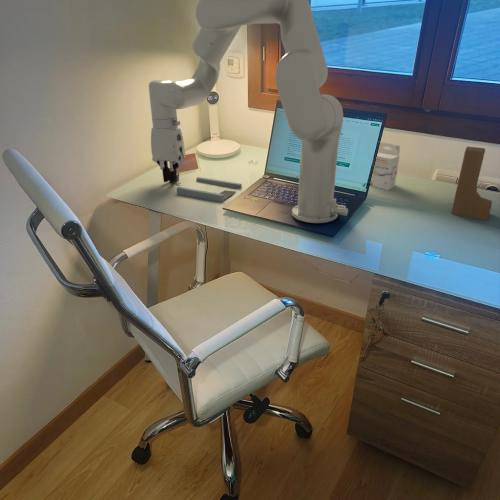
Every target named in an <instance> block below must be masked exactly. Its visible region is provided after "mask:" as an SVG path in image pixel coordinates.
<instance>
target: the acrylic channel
mask: <svg viewBox="0 0 500 500" xmlns="http://www.w3.org/2000/svg"><path fill="white" fill-rule="evenodd" d="M196 182H200V183H203V184H204V183H205V184H211V185H216V186H222V187H227V188H233V189H236V190H237V189H239V190H240V189H242V183H239V182H233V181H227V180H226V181H225V180H219V179H212V178H208V177H207V178H206V177H201V176H197V177H196ZM236 193H237V191H235V190H234V191H233V190H222V191H221V192H220V193H217V192H212V191H211V192H210V191H205V190H202V189H201V190H200V189H199V190H198V189H194V188H189V187H188V188H187V187H184V186H183V187H182V186H177V187H176V194H177V195H180V196H186V197H191V198H197V199H203V200H206V201H207V200H208V201H214V202H219V203H224V202H225V201H226V200H228V199H229V198H232V196H234V194H236Z"/></svg>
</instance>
